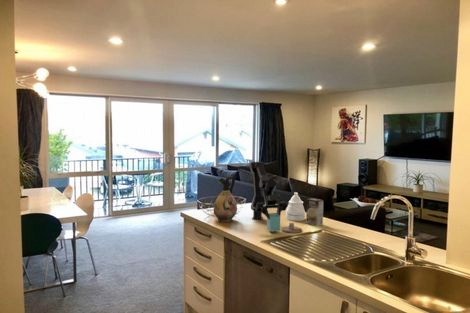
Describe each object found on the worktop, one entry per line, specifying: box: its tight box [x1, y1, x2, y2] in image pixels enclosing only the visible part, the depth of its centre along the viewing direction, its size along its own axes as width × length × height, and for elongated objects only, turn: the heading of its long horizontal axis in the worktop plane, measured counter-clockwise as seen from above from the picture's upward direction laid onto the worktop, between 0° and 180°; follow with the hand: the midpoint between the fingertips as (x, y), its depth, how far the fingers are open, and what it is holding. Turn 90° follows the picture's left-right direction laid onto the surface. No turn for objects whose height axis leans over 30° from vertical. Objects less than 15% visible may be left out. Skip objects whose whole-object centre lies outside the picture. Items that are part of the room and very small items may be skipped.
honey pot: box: [285, 192, 306, 222], centre depth 237 cm, size 13×13×18 cm
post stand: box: [280, 222, 303, 234], centre depth 206 cm, size 12×12×4 cm
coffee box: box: [305, 197, 324, 227], centre depth 222 cm, size 9×6×16 cm
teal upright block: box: [266, 212, 281, 232], centre depth 202 cm, size 6×6×9 cm
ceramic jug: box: [213, 175, 238, 223], centre depth 229 cm, size 17×15×30 cm
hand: (274, 218), depth 201 cm, fingers closed on teal upright block, 6 cm apart
